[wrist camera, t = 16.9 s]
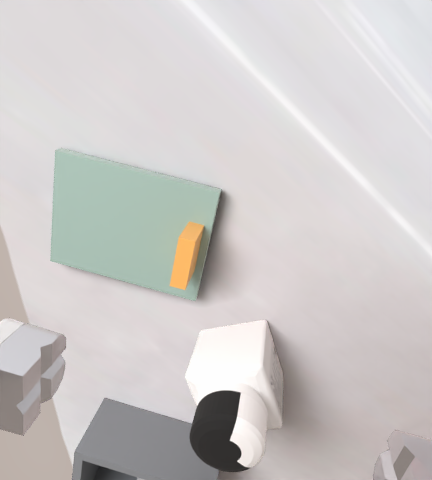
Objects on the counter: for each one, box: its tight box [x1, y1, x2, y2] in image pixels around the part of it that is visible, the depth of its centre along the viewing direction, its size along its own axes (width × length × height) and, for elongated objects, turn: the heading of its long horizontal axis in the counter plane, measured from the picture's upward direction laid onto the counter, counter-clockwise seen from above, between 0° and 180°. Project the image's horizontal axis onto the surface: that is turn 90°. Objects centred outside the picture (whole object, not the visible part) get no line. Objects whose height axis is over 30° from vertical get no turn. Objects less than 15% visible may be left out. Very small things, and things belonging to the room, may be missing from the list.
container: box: [185, 320, 283, 472], centre depth 40 cm, size 8×8×13 cm
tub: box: [72, 398, 219, 480], centre depth 50 cm, size 16×12×8 cm
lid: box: [50, 148, 222, 301], centre depth 39 cm, size 16×12×6 cm
